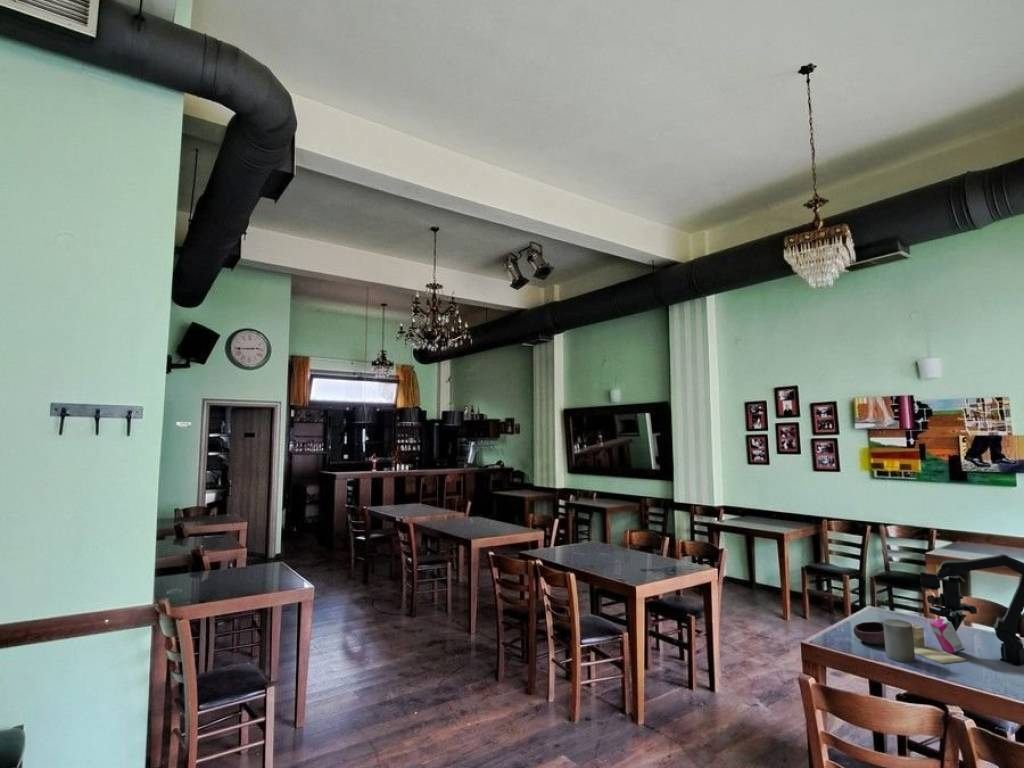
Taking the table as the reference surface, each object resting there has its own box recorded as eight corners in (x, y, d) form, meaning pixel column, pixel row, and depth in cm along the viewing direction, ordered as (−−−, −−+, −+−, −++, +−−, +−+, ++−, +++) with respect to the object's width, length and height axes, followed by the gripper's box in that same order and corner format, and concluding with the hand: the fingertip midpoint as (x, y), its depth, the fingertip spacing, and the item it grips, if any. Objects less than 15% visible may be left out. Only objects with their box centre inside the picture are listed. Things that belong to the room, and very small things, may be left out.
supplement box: (955, 644, 228) (942, 617, 229) (965, 649, 222) (952, 622, 223) (941, 649, 228) (928, 622, 230) (951, 654, 222) (938, 627, 224)
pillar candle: (913, 656, 221) (910, 617, 223) (916, 664, 212) (913, 624, 214) (884, 652, 226) (881, 614, 227) (886, 660, 217) (883, 620, 219)
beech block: (924, 646, 231) (923, 627, 232) (918, 648, 230) (917, 628, 230) (914, 643, 235) (913, 624, 236) (908, 644, 233) (907, 625, 234)
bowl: (888, 651, 226) (886, 630, 227) (852, 643, 235) (851, 624, 235) (892, 640, 239) (890, 621, 240) (857, 633, 247) (856, 615, 248)
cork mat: (967, 660, 216) (967, 659, 216) (941, 664, 213) (941, 663, 213) (929, 647, 231) (929, 646, 231) (905, 650, 227) (905, 649, 227)
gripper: (949, 586, 238) (952, 623, 236) (915, 588, 233) (917, 626, 232) (976, 592, 227) (979, 632, 225) (941, 595, 223) (944, 635, 221)
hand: (954, 631), depth 226 cm, fingers closed
